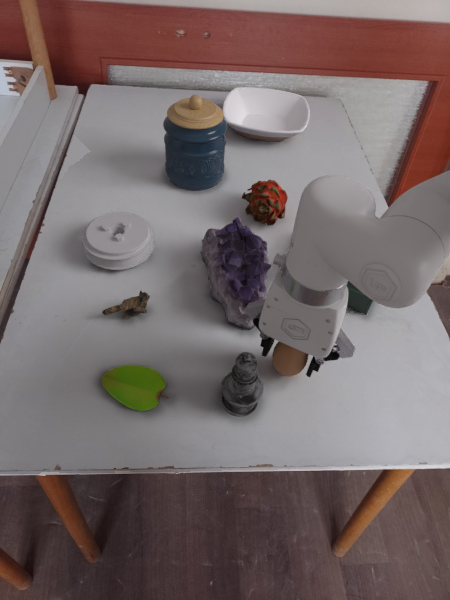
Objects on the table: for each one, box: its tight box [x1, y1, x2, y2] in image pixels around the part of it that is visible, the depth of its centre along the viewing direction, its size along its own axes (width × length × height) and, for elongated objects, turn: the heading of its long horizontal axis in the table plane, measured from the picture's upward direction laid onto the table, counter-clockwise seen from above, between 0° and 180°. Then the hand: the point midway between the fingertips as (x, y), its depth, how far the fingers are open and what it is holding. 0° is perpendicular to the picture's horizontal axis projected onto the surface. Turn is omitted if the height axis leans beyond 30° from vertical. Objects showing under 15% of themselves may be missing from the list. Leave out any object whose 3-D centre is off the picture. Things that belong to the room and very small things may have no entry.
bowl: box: [221, 86, 311, 142], centre depth 113 cm, size 22×22×5 cm
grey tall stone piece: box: [220, 351, 264, 417], centre depth 60 cm, size 6×6×12 cm
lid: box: [81, 211, 155, 271], centre depth 82 cm, size 13×13×5 cm
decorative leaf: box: [101, 364, 170, 412], centre depth 65 cm, size 8×9×1 cm
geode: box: [200, 216, 272, 331], centre depth 76 cm, size 20×12×10 cm, turn 12°
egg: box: [271, 341, 309, 377], centre depth 66 cm, size 5×5×8 cm
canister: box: [162, 94, 228, 191], centre depth 93 cm, size 13×13×18 cm
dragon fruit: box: [241, 179, 288, 227], centre depth 90 cm, size 8×8×12 cm
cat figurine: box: [101, 290, 151, 320], centre depth 73 cm, size 3×8×4 cm, turn 105°
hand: (289, 358), depth 66 cm, fingers open, 6 cm apart
